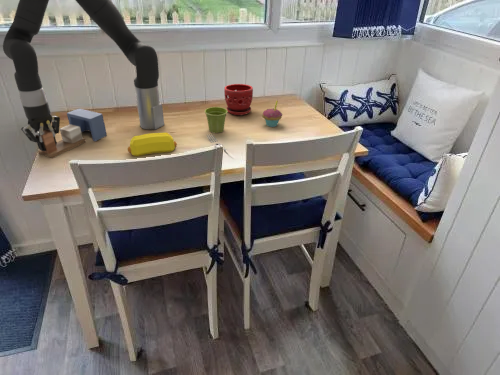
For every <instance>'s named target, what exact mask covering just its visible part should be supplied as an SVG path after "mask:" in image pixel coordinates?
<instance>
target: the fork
mask: <svg viewBox="0 0 500 375" xmlns="http://www.w3.org/2000/svg"><path fill="white" fill-rule="evenodd" d="M206 137H207V139H208V141H209V142H210V143H212V144H213V143H216V142H218V143H217V144H218V145H217V146H220V145H222V144H221V143H219V140H218V139H217V138H216V137H215V136H214V133H211V134H207V135H206ZM224 150H225V151H226V150H227V148H225V147H224V149H223V151H224ZM225 151H224V152H225Z"/></svg>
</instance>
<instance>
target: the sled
mask: <svg viewBox="0 0 500 375" xmlns="http://www.w3.org/2000/svg"><path fill="white" fill-rule="evenodd" d="M59 133H60V135H61V140H59V141H56V142H57V144H55V141H54V137H53V134H52V132H49V131H46V130H44V131H43V135H42V137H43V141H44V144H45V148H46V151H41V150H39V149H38V150H37V152H38V154H39V155H42V156H45V157H47V156H48V157H47V158H52V159H53V158H55V157H57V156H60V155H62V154H64V153H66V152H68V151H70V150H72V149H74V148H77V147H79V146H80V145H82V144H85V143H86V138H83V134H82V133H83V132H81V129H80V127H79V126H75V125H71V124H68V125H67V124H66V125H65V126H63V127H61V128H60V127H59Z"/></svg>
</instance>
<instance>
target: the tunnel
mask: <svg viewBox="0 0 500 375" xmlns="http://www.w3.org/2000/svg"><path fill="white" fill-rule="evenodd" d="M66 116H67V119H68V123H69V124H68V125H70V124H71V125H75V126H79V127H80V129H81V133H83V132H85V131H87V132H90V133H91V138H92V141H93V142H97V141H98V140H101V139H103V138H105V137H107V134H108V132H107V128H106V124H105V121H104V115H103V113H100V112H96V111H93V110H88V109H83V108H76V109H73V110H72V111H71V110H70V111H68V112H67V113H66Z"/></svg>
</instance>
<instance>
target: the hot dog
mask: <svg viewBox="0 0 500 375" xmlns="http://www.w3.org/2000/svg"><path fill="white" fill-rule="evenodd" d="M129 142H130V143H129V146H128V147H127V152H128V153H129V154H131V155H132V156H134V157H140V156H145V155H146V154H147V155H151V154H161V153H171V152H173V151H174V150H175V149H176V147H177V145H178V144H177V142H176V140H174V138H173V136H172V135H171V134H170V133H169V132H150V133H145V134H140V135H134V136H132V138H131V139H130V141H129Z"/></svg>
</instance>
